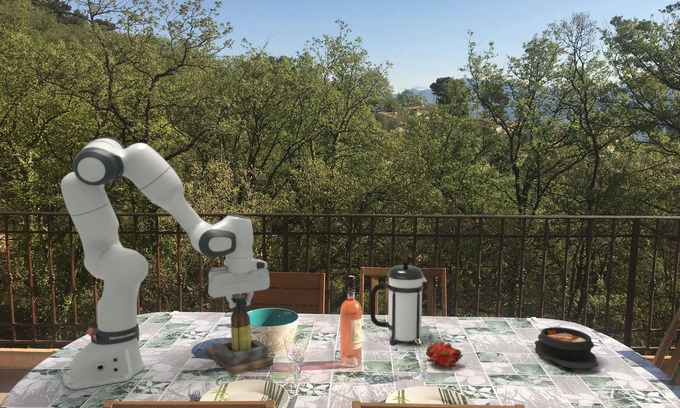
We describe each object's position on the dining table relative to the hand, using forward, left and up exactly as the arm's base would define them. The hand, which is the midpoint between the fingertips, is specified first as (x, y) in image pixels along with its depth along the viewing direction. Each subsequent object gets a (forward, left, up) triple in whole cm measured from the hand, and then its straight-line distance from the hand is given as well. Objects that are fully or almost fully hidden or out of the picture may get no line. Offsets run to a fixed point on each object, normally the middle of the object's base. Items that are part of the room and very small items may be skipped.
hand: (239, 306), depth 159 cm
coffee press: (+55, -18, -18) cm, 61 cm away
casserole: (+88, -62, -18) cm, 109 cm away
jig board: (0, +2, -18) cm, 18 cm away
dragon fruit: (+51, -42, -18) cm, 69 cm away
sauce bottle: (0, 0, -17) cm, 17 cm away
